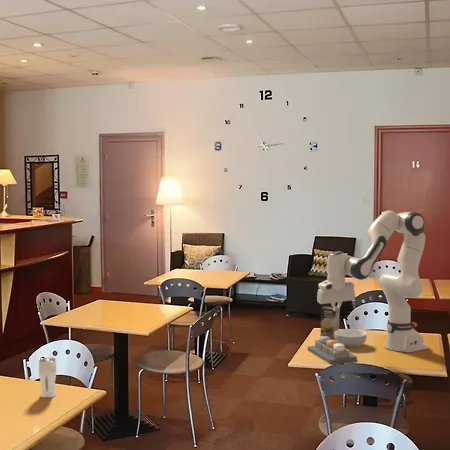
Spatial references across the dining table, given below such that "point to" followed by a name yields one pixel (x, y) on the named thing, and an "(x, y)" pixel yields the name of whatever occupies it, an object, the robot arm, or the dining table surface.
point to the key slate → (324, 339)
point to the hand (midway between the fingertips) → (336, 310)
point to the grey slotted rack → (331, 353)
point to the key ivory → (338, 347)
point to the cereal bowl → (350, 337)
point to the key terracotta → (331, 343)
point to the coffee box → (329, 321)
